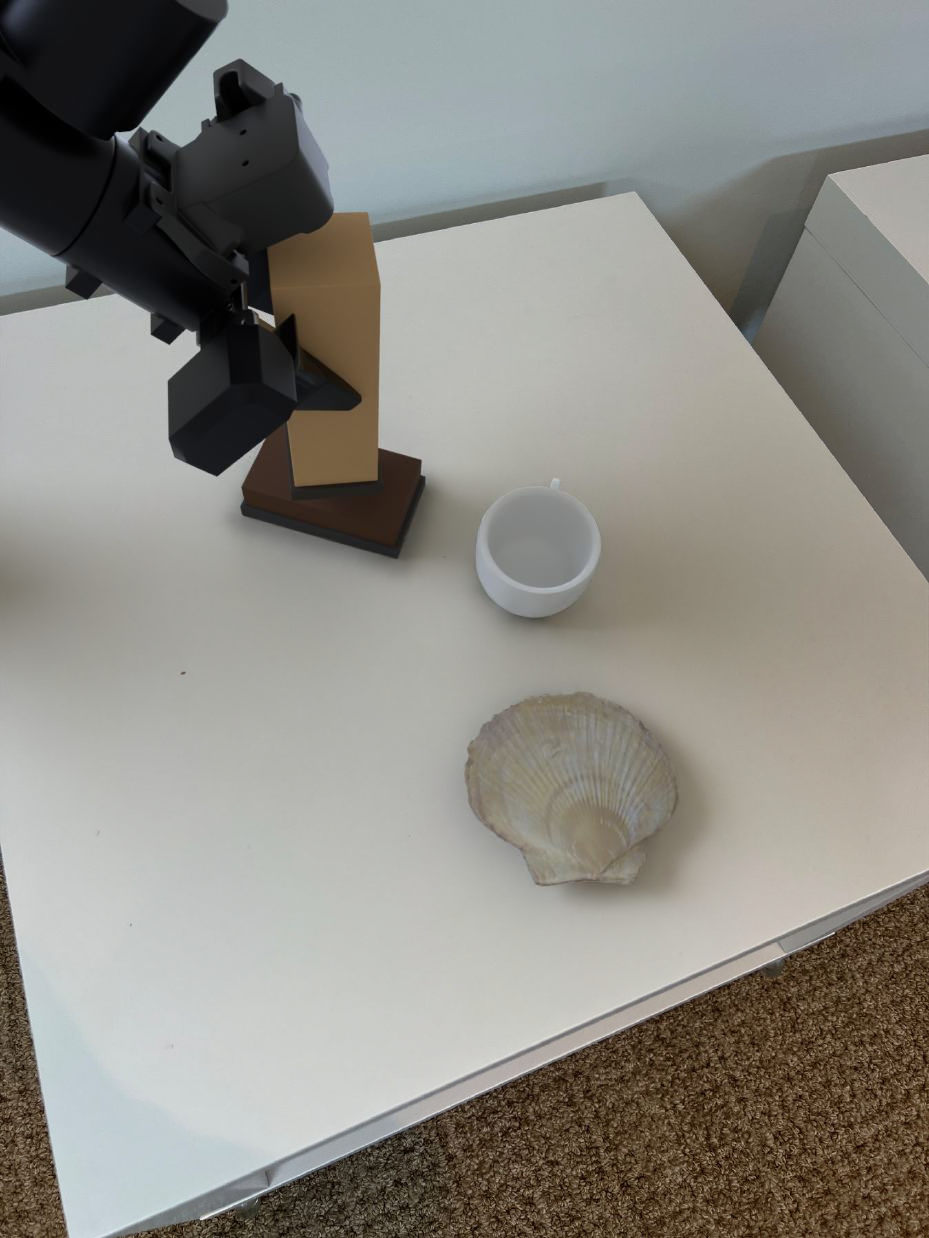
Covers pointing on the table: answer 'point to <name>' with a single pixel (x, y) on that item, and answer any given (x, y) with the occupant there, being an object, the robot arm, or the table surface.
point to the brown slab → (336, 501)
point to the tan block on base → (333, 352)
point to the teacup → (537, 550)
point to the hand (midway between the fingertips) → (351, 367)
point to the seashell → (571, 786)
